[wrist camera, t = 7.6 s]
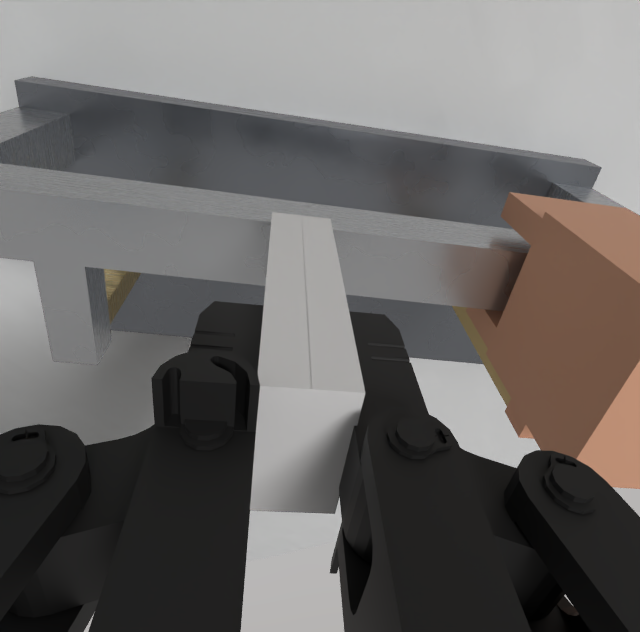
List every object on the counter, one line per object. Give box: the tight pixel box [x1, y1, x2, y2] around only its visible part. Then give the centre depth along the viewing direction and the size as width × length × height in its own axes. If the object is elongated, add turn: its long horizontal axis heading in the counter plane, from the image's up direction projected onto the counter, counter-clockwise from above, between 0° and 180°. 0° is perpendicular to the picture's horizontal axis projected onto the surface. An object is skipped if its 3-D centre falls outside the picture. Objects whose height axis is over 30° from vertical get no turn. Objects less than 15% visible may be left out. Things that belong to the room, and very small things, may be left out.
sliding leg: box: [452, 192, 640, 489], centre depth 17 cm, size 4×7×15 cm, turn 171°
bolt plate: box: [15, 77, 601, 364], centre depth 24 cm, size 26×12×2 cm, turn 82°
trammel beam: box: [0, 107, 640, 365], centre depth 19 cm, size 26×6×11 cm, turn 82°
